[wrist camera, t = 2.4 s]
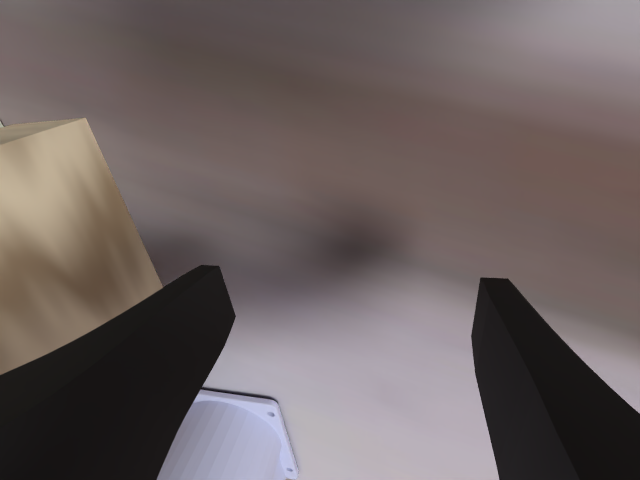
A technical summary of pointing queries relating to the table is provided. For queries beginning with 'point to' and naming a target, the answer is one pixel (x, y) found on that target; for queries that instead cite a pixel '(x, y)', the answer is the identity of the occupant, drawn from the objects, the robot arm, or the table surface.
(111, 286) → the birch slab
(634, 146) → the table surface
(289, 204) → the table surface
